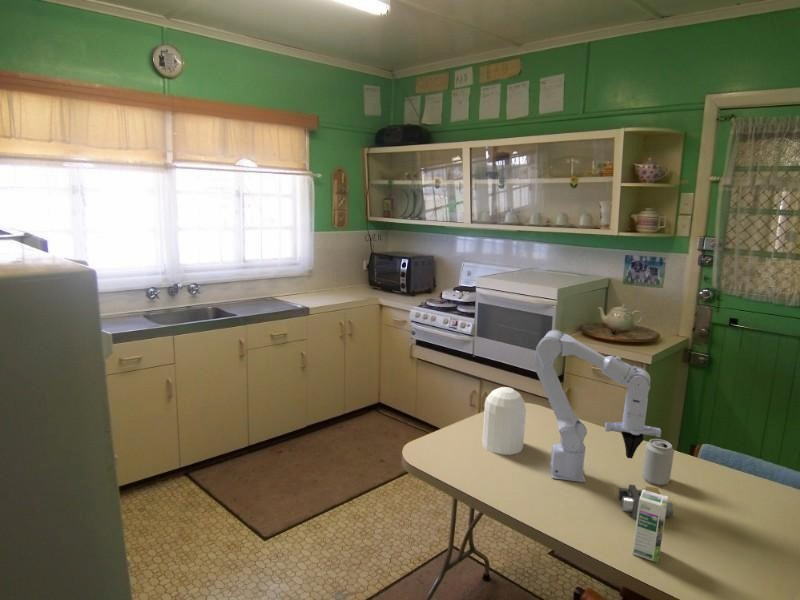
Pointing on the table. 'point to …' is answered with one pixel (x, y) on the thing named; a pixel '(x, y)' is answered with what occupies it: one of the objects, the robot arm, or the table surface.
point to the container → (504, 421)
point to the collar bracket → (634, 496)
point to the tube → (628, 506)
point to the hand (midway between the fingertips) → (629, 456)
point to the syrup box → (649, 525)
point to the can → (658, 462)
